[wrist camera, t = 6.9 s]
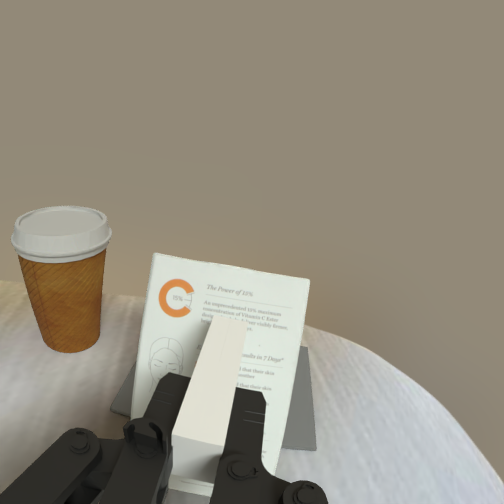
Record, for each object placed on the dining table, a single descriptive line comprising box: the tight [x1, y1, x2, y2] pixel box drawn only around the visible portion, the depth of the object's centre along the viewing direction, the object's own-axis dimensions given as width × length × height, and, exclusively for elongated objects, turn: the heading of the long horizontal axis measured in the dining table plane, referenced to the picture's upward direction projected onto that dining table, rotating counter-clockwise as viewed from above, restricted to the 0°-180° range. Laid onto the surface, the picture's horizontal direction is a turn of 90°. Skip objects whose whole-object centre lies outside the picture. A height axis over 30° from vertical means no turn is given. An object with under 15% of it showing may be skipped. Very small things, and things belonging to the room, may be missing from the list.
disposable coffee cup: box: [11, 206, 112, 353], centre depth 26 cm, size 10×10×12 cm
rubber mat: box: [110, 346, 317, 451], centre depth 27 cm, size 16×14×1 cm
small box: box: [130, 253, 310, 496], centre depth 18 cm, size 8×6×13 cm
